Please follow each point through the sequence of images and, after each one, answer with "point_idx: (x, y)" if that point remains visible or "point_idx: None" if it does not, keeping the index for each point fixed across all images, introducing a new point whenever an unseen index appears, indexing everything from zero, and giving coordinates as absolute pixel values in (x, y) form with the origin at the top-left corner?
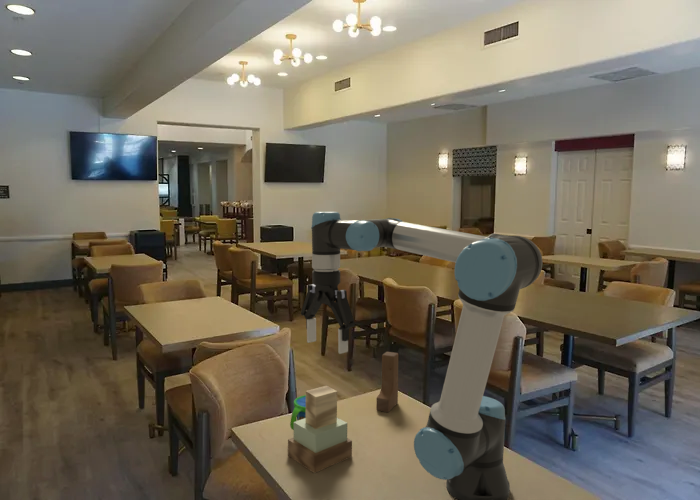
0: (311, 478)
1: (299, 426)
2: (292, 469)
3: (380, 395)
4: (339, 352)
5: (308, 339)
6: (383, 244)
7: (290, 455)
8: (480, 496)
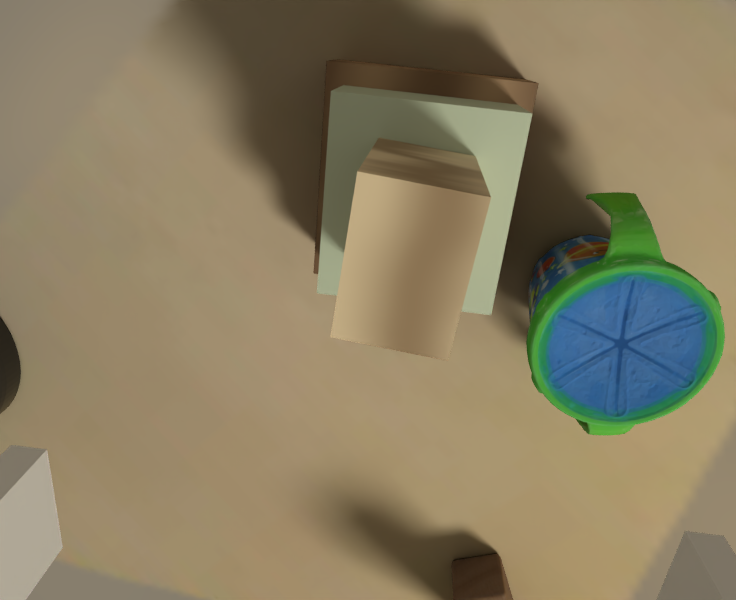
0: (315, 19)
1: (474, 106)
2: (425, 10)
3: None
4: (15, 454)
5: (710, 570)
6: None
7: (508, 77)
8: None
